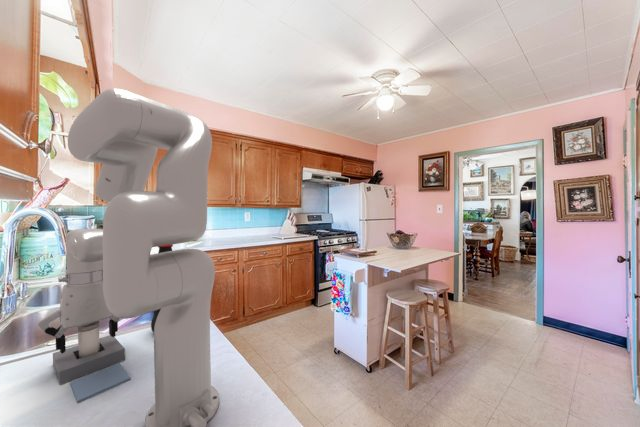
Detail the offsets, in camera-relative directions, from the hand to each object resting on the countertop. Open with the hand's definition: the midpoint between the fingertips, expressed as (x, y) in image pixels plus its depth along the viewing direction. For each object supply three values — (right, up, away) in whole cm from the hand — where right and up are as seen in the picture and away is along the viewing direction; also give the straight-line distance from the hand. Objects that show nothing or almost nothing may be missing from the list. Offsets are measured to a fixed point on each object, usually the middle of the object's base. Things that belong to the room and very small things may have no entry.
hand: (88, 342), depth 65 cm
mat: (+10, -5, -7) cm, 13 cm away
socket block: (0, -5, 0) cm, 5 cm away
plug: (0, -5, 0) cm, 5 cm away
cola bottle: (+10, -5, +16) cm, 20 cm away
